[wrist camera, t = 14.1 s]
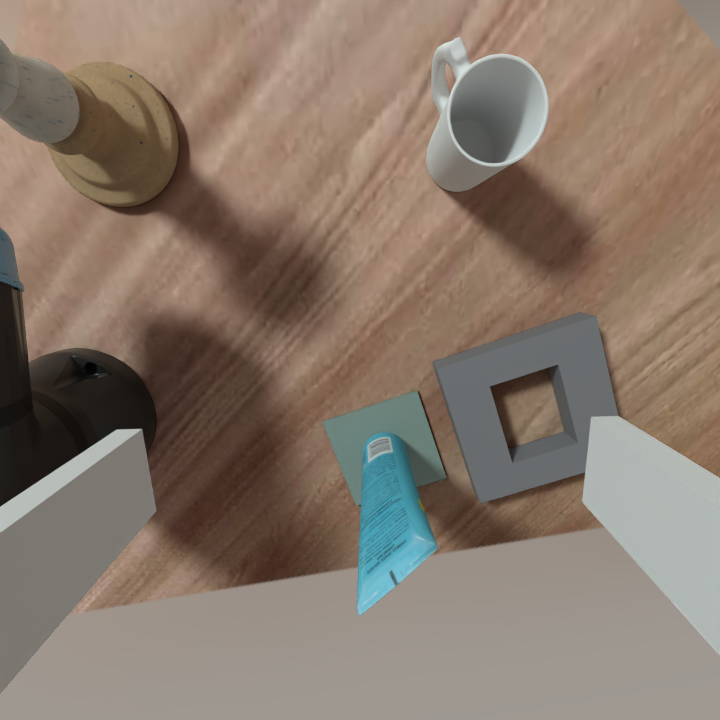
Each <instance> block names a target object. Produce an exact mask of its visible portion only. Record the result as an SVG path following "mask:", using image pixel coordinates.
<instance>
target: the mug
mask: <svg viewBox="0 0 720 720" xmlns="http://www.w3.org/2000/svg"><path fill="white" fill-rule="evenodd" d="M446 63H448V65H449V66H450V67H451V69H452V71H453V73H454V75H455V78H456V83H455V85H454V87H453V89H452V91H451V94H450V92H449V89H448V86H447V82H446V77H445V65H446ZM432 99H433V101H434V103H435V105H436V107H437V109H438V111H439V114H440V119H439V121H438V124H437V126H436V128H435V130H434V133H433V135H432V137H431V140H430V143H429V145H428V149H427V155H426V162H427V168H428V171H429V174H430V176H431V177H432V179H433V180H434V182H435V183H436V184H437V185H439V186H440V187H441V188H443V189H445V190H448V191H452V192H462V191H466V190H469V189H471V188H473V187H475V186H477V185H478V184H480V183H482V182H483V181H485V180H487V179H488V178H490V177H491V176H493V175H495V174H496V173H498V172H500V171H501V170H503V169H505V168H506V167H508V166H509V165H511V164H513V163H515V162H517V161H519V160H520V159H522V158H523V157H525V156H526V155H527V154H528V153H529V152H530V151H531V150H532V149H533V148H534V147H535V145H536V144H537V142H538V141H539V139H540V138H541V136H542V134H543V131H544V129H545V126H546V123H547V118H548V111H549V101H548V94H547V90H546V87H545V84H544V82H543V80H542V78H541V76H540V75H539V73H538V72H537V71H536V69H535V68H534V67H533V66H532V65H530V64H529V63H528V62H526V61H525V60H523V59H521V58H519V57H516V56H513V55H508V54H495V55H490V56H486V57H484V58H481V59H479V60H477V61H476V62H474V63H473V64H471V63H470V62H469V60H468V57H467V51H466V48H465V46H464V43H463V41H462V39H461V38H459V37H458V38H456V39H454V40H453V41H451V42H447V43H444V44H442V45H441V46H440V47H438V49H437V50H436V52H435V54H434V57H433V63H432Z"/></svg>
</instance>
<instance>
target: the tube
mask: <svg viewBox="0 0 720 720" xmlns="http://www.w3.org/2000/svg"><path fill="white" fill-rule="evenodd" d="M437 549H438V548H437V544H436V540H435V538H434V536H433V533H432V531H431V528H430V525H429V522H428V520H427V517H426V514H425V511H424V508H423V505H422V502H421V499H420V496H419V493H418V489H417V486H416V483H415V479H414V476H413V473H412V469H411V466H410V462H409V458H408V454H407V450H406V447H405V444H404V442H403V441H402V440H401V439H400V438H399V437H398V436H396V435H394V434H392V433H388V432H383V433H378V434H375V435H373V436H372V437H370V438H369V439H368V440H367V442H366V443H365V445H364V448H363V461H362V492H361V518H360V540H359V564H358V590H357V611H358V615H359V616H361V615H362V614H363V613H364V612H366V611H367V610H368V609H369V608H371V607H372V606H373V605H374V604H375V603H377V602H378V601H379V600H380V599H381V598H383V597H384V596H385V595H386V594H387V593H388V592H390V591H391V590H392V589H393V588H394V587H395V586H396V585H398V584H399V583H400V582H401V581H403V580H404V579H405V578H406V577H407V576H408V575H409V574H411V573H412V572H413V571H414V570H415V569H416V568H417V567H419V566H420V565H421V564H422V562H423V561H424V560H425V559H427V558H428V557H429V556H430V555H431V554H432V553H434V552H435V551H436V550H437Z"/></svg>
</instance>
